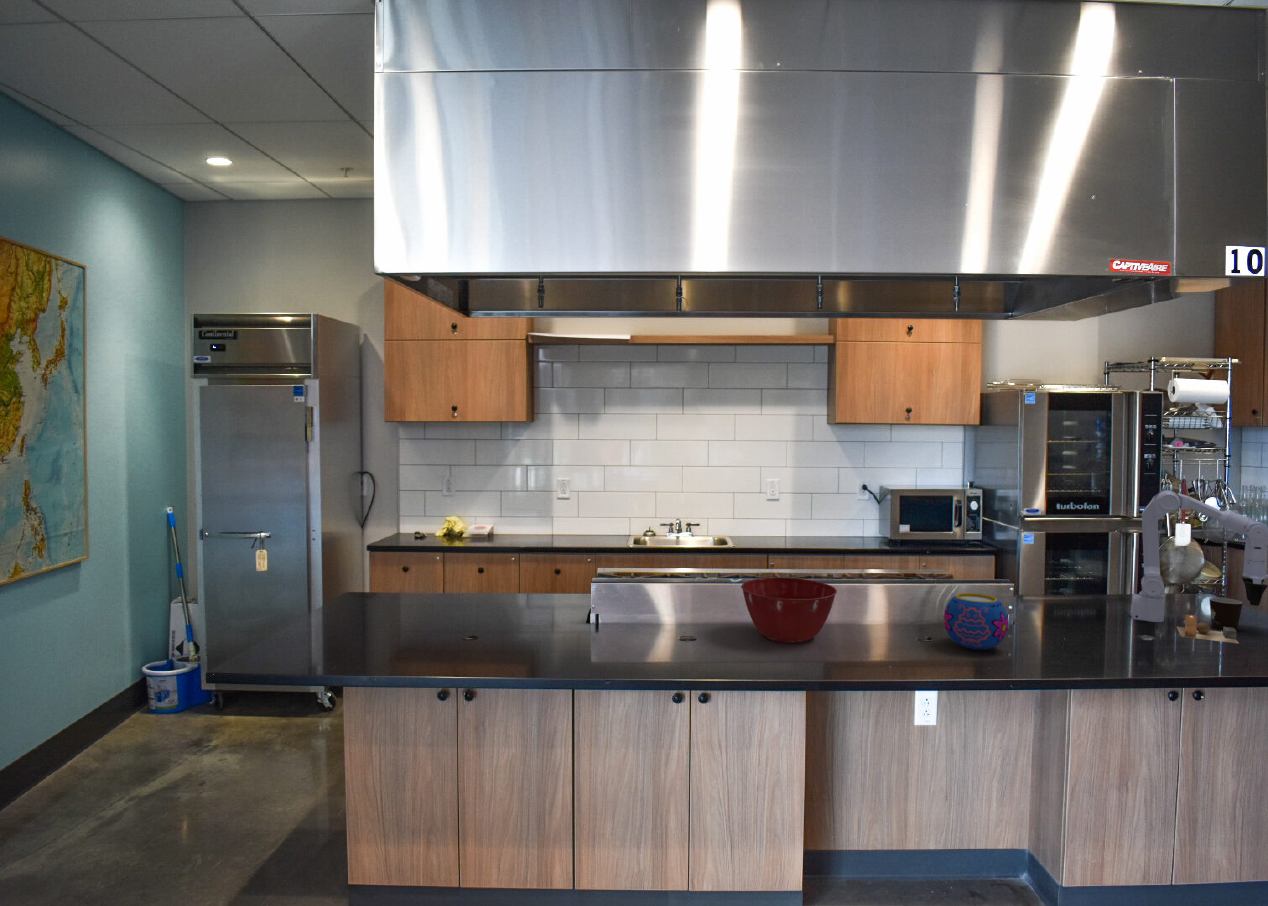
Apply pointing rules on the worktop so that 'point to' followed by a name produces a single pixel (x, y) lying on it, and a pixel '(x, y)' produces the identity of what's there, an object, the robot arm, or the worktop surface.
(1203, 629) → the brown ball
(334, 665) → the worktop surface
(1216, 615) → the coffee mug
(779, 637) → the mixing bowl
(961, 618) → the ceramic pot
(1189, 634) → the lever
